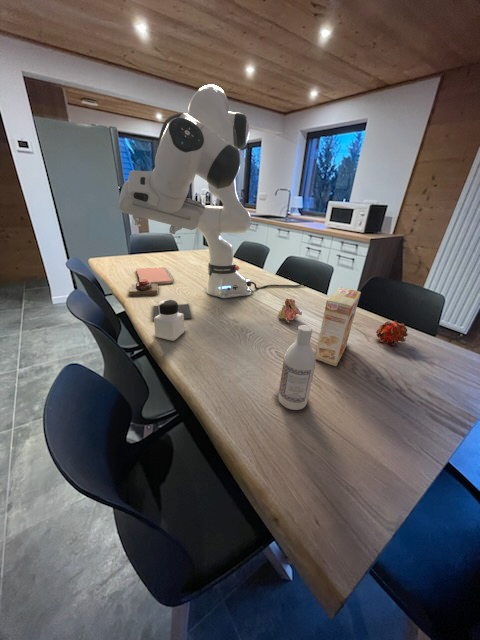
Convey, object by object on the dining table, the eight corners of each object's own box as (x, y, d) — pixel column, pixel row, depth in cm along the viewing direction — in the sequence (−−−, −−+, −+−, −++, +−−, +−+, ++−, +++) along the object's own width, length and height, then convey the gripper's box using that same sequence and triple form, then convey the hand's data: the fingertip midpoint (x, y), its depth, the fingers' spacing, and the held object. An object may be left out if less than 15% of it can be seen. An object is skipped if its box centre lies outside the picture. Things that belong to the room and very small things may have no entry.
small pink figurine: (276, 324, 102) (271, 302, 105) (287, 328, 110) (282, 307, 113) (298, 317, 97) (292, 294, 100) (308, 321, 105) (302, 300, 108)
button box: (157, 287, 131) (157, 280, 130) (157, 294, 123) (156, 286, 121) (132, 288, 128) (131, 280, 127) (129, 296, 120) (128, 287, 118)
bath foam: (287, 387, 69) (298, 317, 60) (311, 400, 65) (327, 328, 56) (272, 400, 64) (282, 327, 55) (297, 415, 60) (313, 339, 51)
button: (148, 283, 126) (147, 278, 125) (147, 285, 123) (147, 281, 122) (139, 283, 125) (139, 279, 124) (138, 286, 122) (138, 281, 121)
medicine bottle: (184, 331, 92) (183, 300, 87) (173, 341, 86) (171, 307, 81) (167, 327, 94) (164, 296, 89) (155, 337, 88) (151, 303, 83)
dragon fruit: (402, 344, 95) (375, 353, 92) (390, 324, 98) (363, 331, 96) (419, 335, 88) (390, 344, 85) (405, 313, 91) (377, 321, 88)
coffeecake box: (336, 367, 78) (352, 306, 69) (313, 358, 81) (325, 299, 72) (347, 345, 89) (362, 291, 81) (326, 339, 93) (338, 286, 84)
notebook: (174, 283, 139) (174, 279, 138) (141, 286, 132) (140, 282, 131) (165, 269, 161) (165, 266, 160) (136, 271, 154) (136, 268, 153)
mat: (188, 305, 114) (188, 304, 114) (191, 319, 102) (191, 318, 101) (154, 306, 110) (154, 305, 110) (153, 321, 98) (152, 320, 98)
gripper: (206, 195, 70) (190, 227, 81) (122, 167, 60) (117, 209, 71) (208, 214, 68) (190, 245, 79) (121, 189, 58) (115, 228, 69)
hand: (155, 227), depth 75 cm, fingers open, 8 cm apart
